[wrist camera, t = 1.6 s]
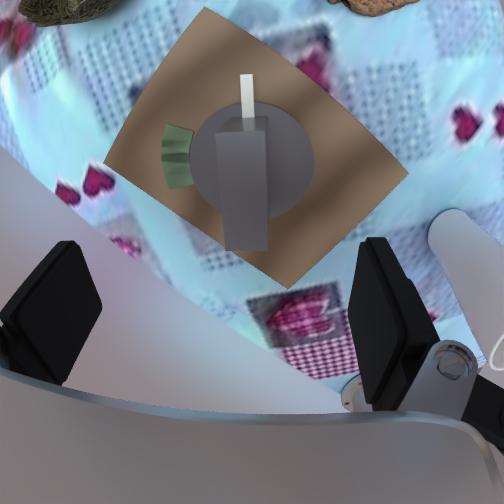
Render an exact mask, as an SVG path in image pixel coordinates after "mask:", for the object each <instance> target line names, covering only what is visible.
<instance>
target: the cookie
mask: <svg viewBox="0 0 504 504" xmlns="http://www.w3.org/2000/svg"><path fill="white" fill-rule="evenodd" d="M328 1H329V3H332V4H336V3H338V2H339V3H341V2H342V3H343V4H344V5H345V6H346V7H347V6H348V7H349V8H350V9H351V10H353V11H355V12H357V13H358V14H362V15H368V16H374V17H375V16H379V15H383V14H385V13H388V12H390V11H392V10H397V9H399V8H401V7H403V6H405V5H406V4H409V3H416V2H418V1H420V0H328Z"/></svg>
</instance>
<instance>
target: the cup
mask: <svg viewBox="0 0 504 504" xmlns="http://www.w3.org/2000/svg"><path fill="white" fill-rule="evenodd" d="M120 1H121V0H22V1H21V2H20V4H19V7H18V11H19V12H20V13H21V14H22V15H24V16H26V17H28V19H26V23H36V25H35V26H36V27H48V26H55V25H65V24H75V23H81V22H86V21H89V20H93V19H95V18H97V17H99V16H101V15H103V14H104V13H106V12H107V11H109V10H110V9H111V8H112V7H114V6H115V5H117V4H118V3H119V2H120Z"/></svg>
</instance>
